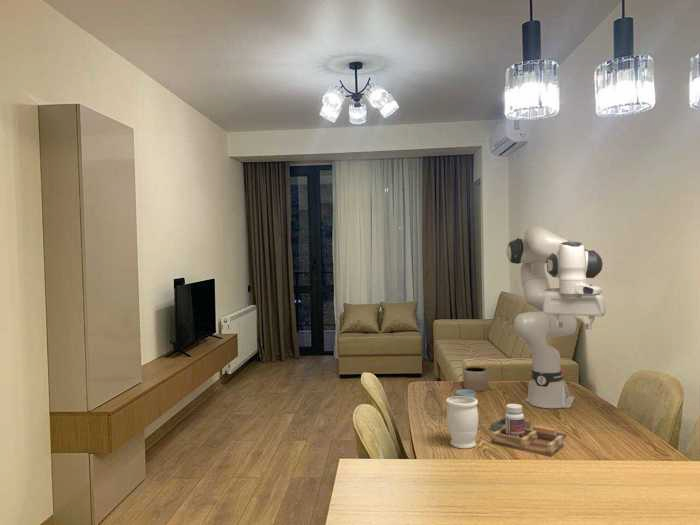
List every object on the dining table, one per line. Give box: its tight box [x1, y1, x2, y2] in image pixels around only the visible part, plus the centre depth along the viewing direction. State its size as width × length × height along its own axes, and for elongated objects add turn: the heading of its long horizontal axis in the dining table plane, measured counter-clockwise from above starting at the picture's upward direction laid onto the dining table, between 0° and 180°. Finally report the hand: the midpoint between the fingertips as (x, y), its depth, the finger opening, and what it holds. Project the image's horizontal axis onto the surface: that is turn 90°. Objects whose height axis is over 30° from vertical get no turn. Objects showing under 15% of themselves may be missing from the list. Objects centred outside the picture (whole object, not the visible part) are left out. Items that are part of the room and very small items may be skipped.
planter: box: [463, 366, 489, 393], centre depth 248 cm, size 11×11×10 cm
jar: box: [446, 395, 479, 450], centre depth 175 cm, size 11×10×15 cm
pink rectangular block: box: [532, 424, 557, 436], centre depth 177 cm, size 2×7×4 cm, turn 49°
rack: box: [491, 425, 565, 457], centre depth 173 cm, size 11×20×4 cm, turn 49°
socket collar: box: [490, 417, 531, 432], centre depth 189 cm, size 10×10×2 cm
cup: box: [454, 389, 476, 399], centre depth 203 cm, size 8×8×10 cm
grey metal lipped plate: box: [537, 432, 568, 441], centre depth 179 cm, size 10×9×3 cm
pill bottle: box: [504, 403, 525, 438], centre depth 176 cm, size 6×6×11 cm
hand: (574, 328), depth 181 cm, fingers open, 8 cm apart
